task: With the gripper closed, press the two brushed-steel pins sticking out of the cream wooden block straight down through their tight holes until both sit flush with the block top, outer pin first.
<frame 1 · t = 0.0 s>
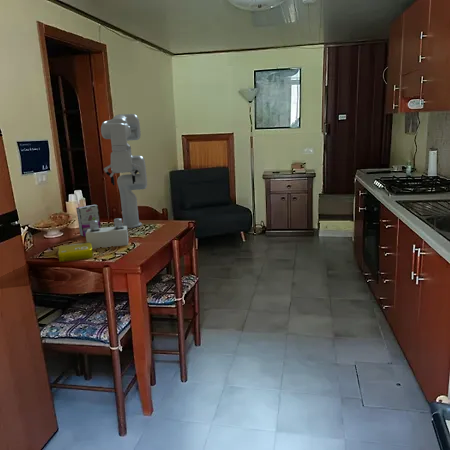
hand: (123, 184, 205), 31 cm above the table, tool pointing down, fingers open, 9 cm apart
pin block: (108, 244, 214), on the table
pin inner: (118, 224, 213), point 10 cm above the table, slide at 5.0 cm
candy bar box: (90, 234, 239), on the table
pin outer: (94, 226, 211), point 10 cm above the table, slide at 5.0 cm
element tile: (76, 256, 198), on the table
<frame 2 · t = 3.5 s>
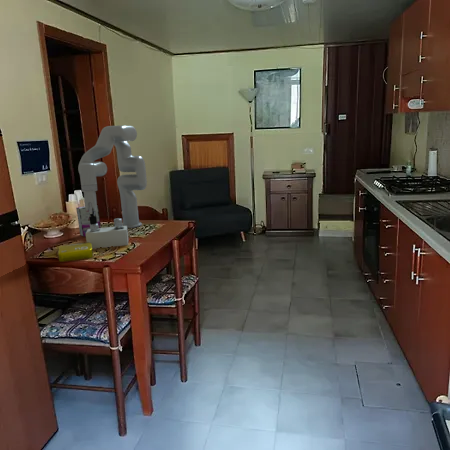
hand: (93, 223, 210), 12 cm above the table, tool pointing down, fingers closed
pin outer: (94, 229, 211), point 9 cm above the table, slide at 3.6 cm, touching gripper
everything else where it was.
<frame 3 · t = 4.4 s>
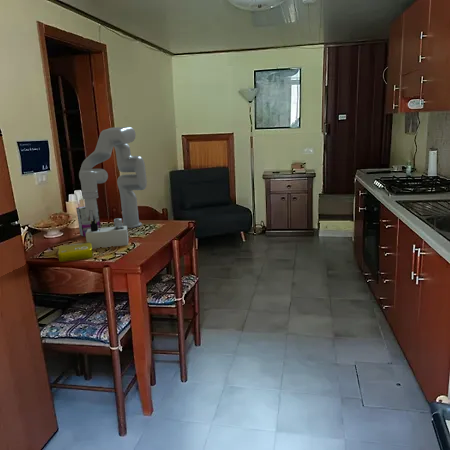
hand: (94, 230, 211), 8 cm above the table, tool pointing down, fingers closed
pin outer: (95, 236, 212), point 5 cm above the table, slide at -0.1 cm, touching gripper
everything else where it was.
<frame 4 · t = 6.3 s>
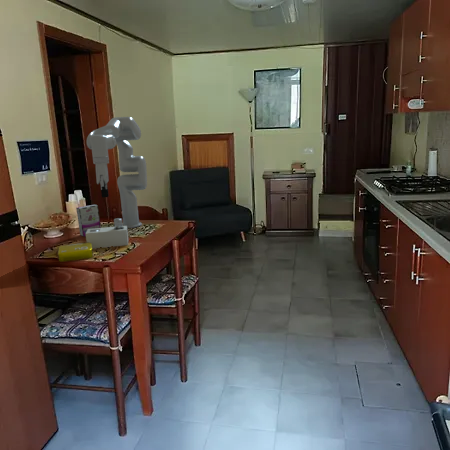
hand: (105, 197, 209), 25 cm above the table, tool pointing down, fingers closed
pin outer: (95, 236, 212), point 5 cm above the table, slide at -0.1 cm
everything else where it was.
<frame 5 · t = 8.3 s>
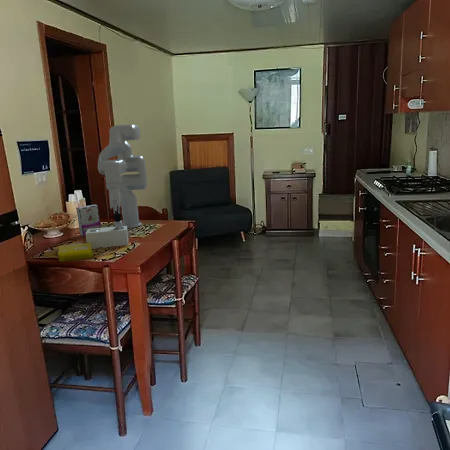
hand: (117, 221, 213), 12 cm above the table, tool pointing down, fingers closed
pin inner: (118, 226, 214), point 9 cm above the table, slide at 3.9 cm, touching gripper
everything else where it was.
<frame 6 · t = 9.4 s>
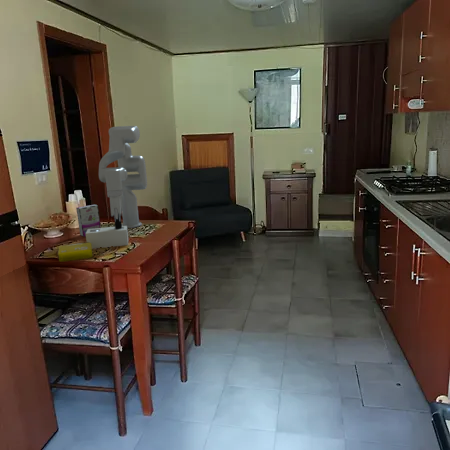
hand: (118, 228, 214), 8 cm above the table, tool pointing down, fingers closed
pin inner: (119, 234, 214), point 5 cm above the table, slide at -0.1 cm, touching gripper
everything else where it was.
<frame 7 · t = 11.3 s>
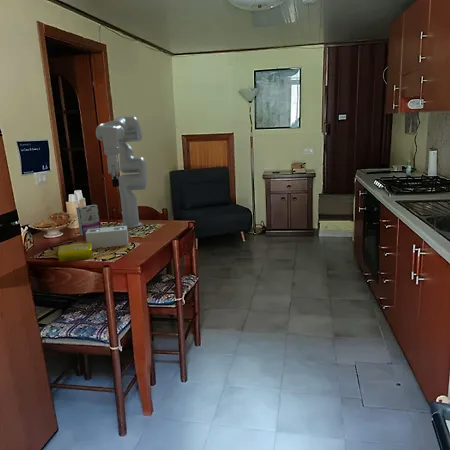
hand: (116, 186, 215), 29 cm above the table, tool pointing down, fingers closed
pin inner: (119, 234, 214), point 5 cm above the table, slide at -0.1 cm
everything else where it was.
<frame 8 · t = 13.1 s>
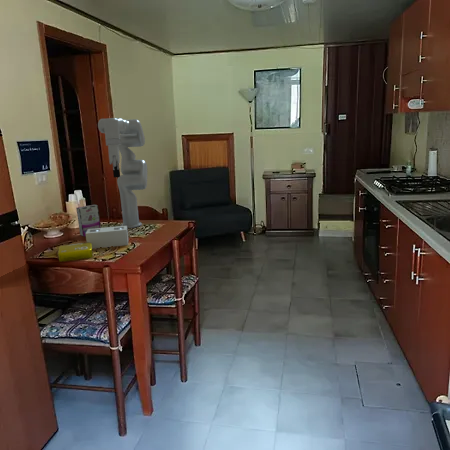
hand: (116, 177, 222), 33 cm above the table, tool pointing down, fingers closed
nothing on the table moved.
at the end: pin outer slide at -0.1 cm; pin inner slide at -0.1 cm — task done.
